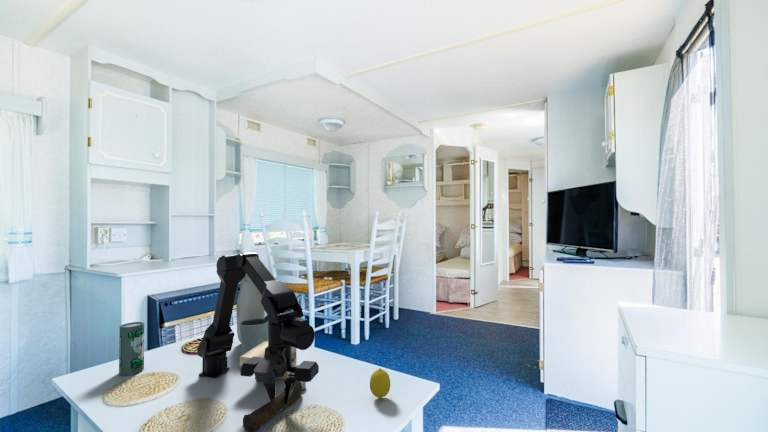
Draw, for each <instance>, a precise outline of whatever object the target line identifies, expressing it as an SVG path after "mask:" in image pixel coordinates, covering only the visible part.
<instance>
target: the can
mask: <svg viewBox="0 0 768 432" xmlns="http://www.w3.org/2000/svg"><path fill="white" fill-rule="evenodd" d="M118 339H119V341H118V342H119V343H118V344H119V346H118V347H119V348H118V355H119V356H118V375H119V376H120V377H121V376H122V377H129V376H134V375H136V374H139V373H142V372H143V370H144V369H145V322H144V321H132V322H127V323H124V324H121V325H119V338H118Z"/></svg>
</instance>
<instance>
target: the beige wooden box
mask: <svg viewBox="0 0 768 432" xmlns="http://www.w3.org/2000/svg"><path fill="white" fill-rule="evenodd" d="M267 346H268V341H264V342H263V343H261V344H259V345H258V346H256V347H255V348H253V349H251V350H250V351H248V352H247V353H245V354H243V355H242V354H241V355H240V356H239V366H240V367H241V366H242V364H243V363H245V362H246V361H248V360H249V359H251V358H252V357H264V354H265V348H266V347H267ZM292 357H294V361H293V362H292V365H297V348H295V347H292ZM287 377H288V373H285V374H284V376H283V377H278V378H277V379H279V380H280V379H281V380H285V379H286V378H287Z"/></svg>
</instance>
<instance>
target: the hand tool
mask: <svg viewBox="0 0 768 432" xmlns="http://www.w3.org/2000/svg"><path fill="white" fill-rule="evenodd" d="M302 394H303V391H302V385H301V382H299V381H297V383H296V385H295V387H294V390H293V392H292V395H291V397H290V400H289V403H288V404H285V387H284V388H283V391H282V392H281V393H279V394H278V395H275V398H273V399H272V400H270V399H269V401H267V402H266V403H263V404H262V405H261V406H259V407H258V408H256V409H255V410H253V411H251V413H248V414H245V415H244V416H243V418H242V428H244V429H243V430H244V431H245V432H256V430H259V429H260V428H261V426H262V425H263V424H265V423H266V422H267V421H268V420H269V419H271V418H272V417H274V416H276V415H277V414H278V413H279V412H281V411H282V410H283V409H284V408H286V407H287V406H293V405H295V403H296V402H297V401H298V400H299V398H300V397H301V395H302Z"/></svg>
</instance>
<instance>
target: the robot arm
mask: <svg viewBox="0 0 768 432" xmlns="http://www.w3.org/2000/svg"><path fill="white" fill-rule="evenodd" d="M259 257H260V256H259V254H258V253H257V252H254V251H252V252H251V251H250V252H240V253H238V254H227V255H221V256H220V257H218V260H217V261H216V275H218V278H219V280H220V284H219V287H218V294H217V299H216V304H215V308H214V309H215V310H214V313H213V314H214V315H213V319H212V322H211V324H210V325H209V326H208V327H207V328H206V329H205V330H204V334H203V336H202V339H201V340H200V342H199V344H198V346H197V348H196V352H197V356H199V357H200V358H202V372H200V373H199V374H198V376H199V377H207V378H219V377H220V376H221V375H224V373H227V371H229V370H230V367H229V366H228V356H227V352H231V351H232V347H233V343H234V337H235V333H234V331H233V329H232V327H231V325H230V324H231V320H232V316H233V309H234V305H235V300H236V296H237V290H238V288H239V287H238V285H239V284H240V281H241V280H242V279H243V278H244V277H245V276H246V274H247V275H248V277H249V278H250V279H251V281H252V282H253V283H254V285H255V286H256V288H257V289H258V290H259V292H260V293H261V304H262V306H263V308H264V310H265V313H266V316H265V318H264V320H265V321H268V346H267V347H266V348H265V354H264V357H252V358H251V359H249V360H248V361H246V362H245V363H243V364H242V366H240V376H241V377H249V378H250V377H252V376H253V375H254V379H255V381H256V383H258V384H260V383H262V384H263V387H264V389H265V391H266V394H267V396H268V399H269V401H270V400H272V399H273V398H275V397H276V394H277V393H276V391H277V390H276V389H277V379H278V377H283V376H284V374H285V373H288V377H287V378H286V379H283V383H284V385H285V387H284V388H285V404H288V403H289V400H290V397H291V395H292V392H293V390H294V387H295V385H296V383H297V381H301V382H306V383H309V382H312V380H313V379H314V378H315V377H316V376H317V375H318V374H319V372H320V371H319V369H320V368H319V367H320V366H319V363H318V361H312V360H303V361H302V362H300V363H299V364H296V365H292V362H293V361H294V357H292V347H295V348H296V350H297V349H298V350H301V351H305V350H307V349H309V348H310V347H311V346H312V344H314V341H315V337H316V332H315V329H314V327H313V326H311V325H310V324H309V319H307V318H303V317H304V316H305V315H304V312H303V308H302V306H301V304H300V302H299V299H298V298H297V295H296V293H295V292H294V290H293V289H291V288H290V286H288V285H286V284H285V283H282V282H279V281H278V280H276V278H275V277H274V275H273V274H272V273H271V272H270V271H269V270H268V268H267V267H266V266H265V265H264V263H263V262H262V261H261V259H260V258H259Z"/></svg>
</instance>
